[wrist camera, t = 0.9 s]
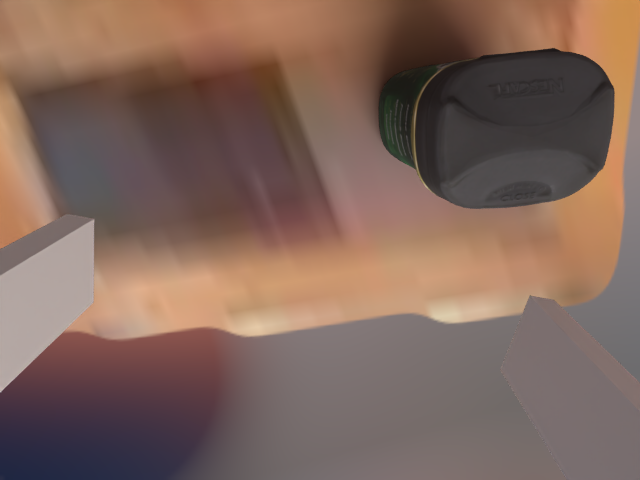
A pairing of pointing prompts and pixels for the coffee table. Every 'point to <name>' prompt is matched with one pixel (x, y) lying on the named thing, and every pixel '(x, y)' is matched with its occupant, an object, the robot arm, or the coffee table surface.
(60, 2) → the coffee table surface
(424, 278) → the coffee table surface
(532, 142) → the coffee jar
